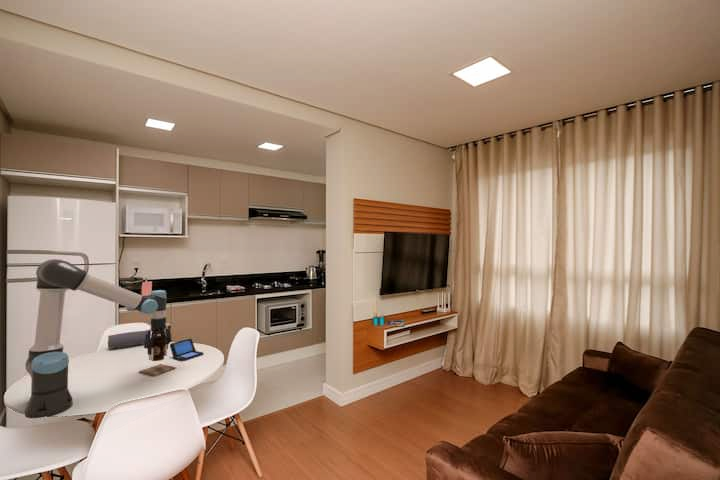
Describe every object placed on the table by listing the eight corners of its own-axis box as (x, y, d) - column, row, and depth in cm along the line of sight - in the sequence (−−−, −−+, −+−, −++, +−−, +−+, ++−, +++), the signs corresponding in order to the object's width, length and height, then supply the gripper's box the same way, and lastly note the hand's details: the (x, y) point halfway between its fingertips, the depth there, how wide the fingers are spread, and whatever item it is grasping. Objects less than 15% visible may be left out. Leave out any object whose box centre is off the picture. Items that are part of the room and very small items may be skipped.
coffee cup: (157, 363, 184) (158, 339, 184) (145, 361, 185) (145, 338, 186) (169, 357, 192) (170, 335, 192) (157, 356, 194) (157, 334, 194)
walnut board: (154, 376, 180) (154, 375, 180) (138, 372, 185) (138, 371, 185) (175, 368, 192) (175, 367, 192) (160, 365, 197) (160, 363, 197)
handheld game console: (182, 362, 204) (182, 347, 204) (168, 358, 210) (168, 344, 210) (204, 354, 218) (204, 340, 218) (190, 351, 224) (191, 337, 224)
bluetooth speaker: (146, 342, 243) (146, 328, 243) (148, 345, 236) (148, 331, 236) (107, 348, 228) (108, 333, 228) (108, 351, 221) (108, 336, 221)
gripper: (145, 322, 178) (144, 364, 178) (179, 314, 197) (178, 353, 197) (136, 320, 181) (135, 362, 181) (170, 313, 200) (169, 351, 200)
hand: (157, 357), depth 189 cm, fingers closed on coffee cup, 7 cm apart
